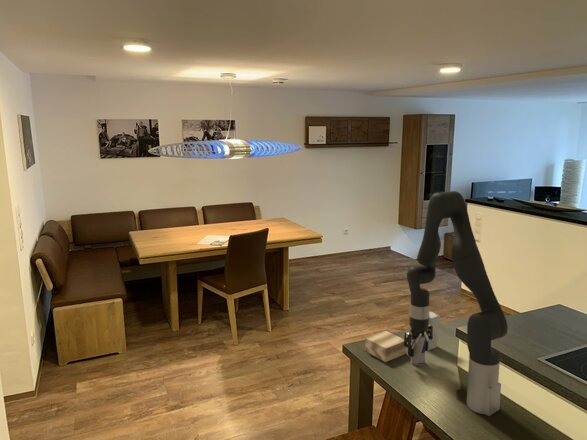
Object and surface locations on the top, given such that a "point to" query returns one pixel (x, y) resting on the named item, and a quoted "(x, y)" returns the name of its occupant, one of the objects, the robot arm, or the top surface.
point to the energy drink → (419, 352)
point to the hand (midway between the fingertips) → (418, 353)
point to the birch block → (385, 346)
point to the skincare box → (434, 329)
